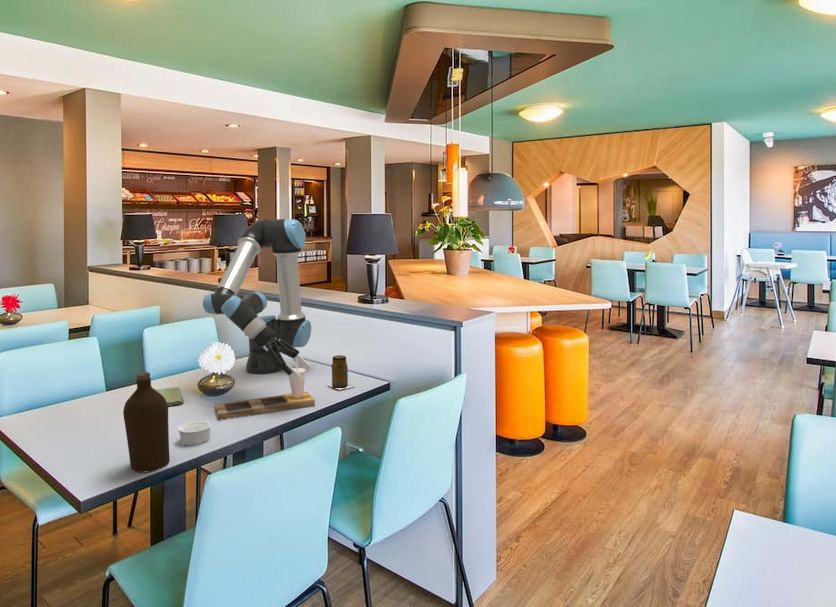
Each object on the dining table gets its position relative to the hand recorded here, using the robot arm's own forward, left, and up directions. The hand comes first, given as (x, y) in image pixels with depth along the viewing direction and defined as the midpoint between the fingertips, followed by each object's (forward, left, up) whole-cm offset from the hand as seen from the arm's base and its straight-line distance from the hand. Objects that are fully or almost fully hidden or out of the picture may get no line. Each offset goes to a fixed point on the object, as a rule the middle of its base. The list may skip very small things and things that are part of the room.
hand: (303, 374), depth 198 cm
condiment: (-13, +17, -11) cm, 24 cm away
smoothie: (-1, -2, -8) cm, 9 cm away
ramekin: (+19, -38, -11) cm, 43 cm away
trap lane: (-1, -14, -10) cm, 17 cm away
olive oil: (+32, -50, -11) cm, 60 cm away
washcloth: (-26, -45, -11) cm, 53 cm away
